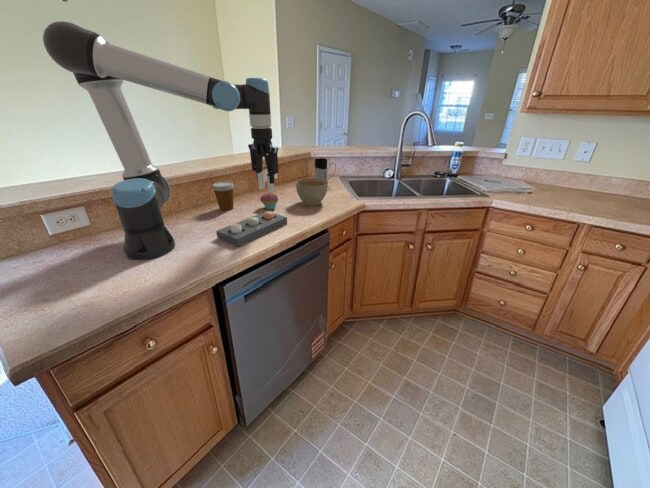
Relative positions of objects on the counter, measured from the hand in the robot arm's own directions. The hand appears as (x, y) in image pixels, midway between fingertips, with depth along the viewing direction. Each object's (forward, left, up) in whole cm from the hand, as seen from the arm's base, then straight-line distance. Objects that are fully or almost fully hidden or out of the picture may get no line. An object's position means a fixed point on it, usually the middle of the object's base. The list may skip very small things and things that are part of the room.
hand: (266, 190), depth 114 cm
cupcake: (+15, +14, -15) cm, 25 cm away
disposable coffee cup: (+2, +30, -15) cm, 34 cm away
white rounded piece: (-17, 0, -13) cm, 22 cm away
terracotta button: (0, 0, -13) cm, 13 cm away
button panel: (-8, 0, -15) cm, 17 cm away
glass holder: (+66, +17, -15) cm, 69 cm away
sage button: (-9, 0, -13) cm, 16 cm away
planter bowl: (+33, +2, -15) cm, 36 cm away
